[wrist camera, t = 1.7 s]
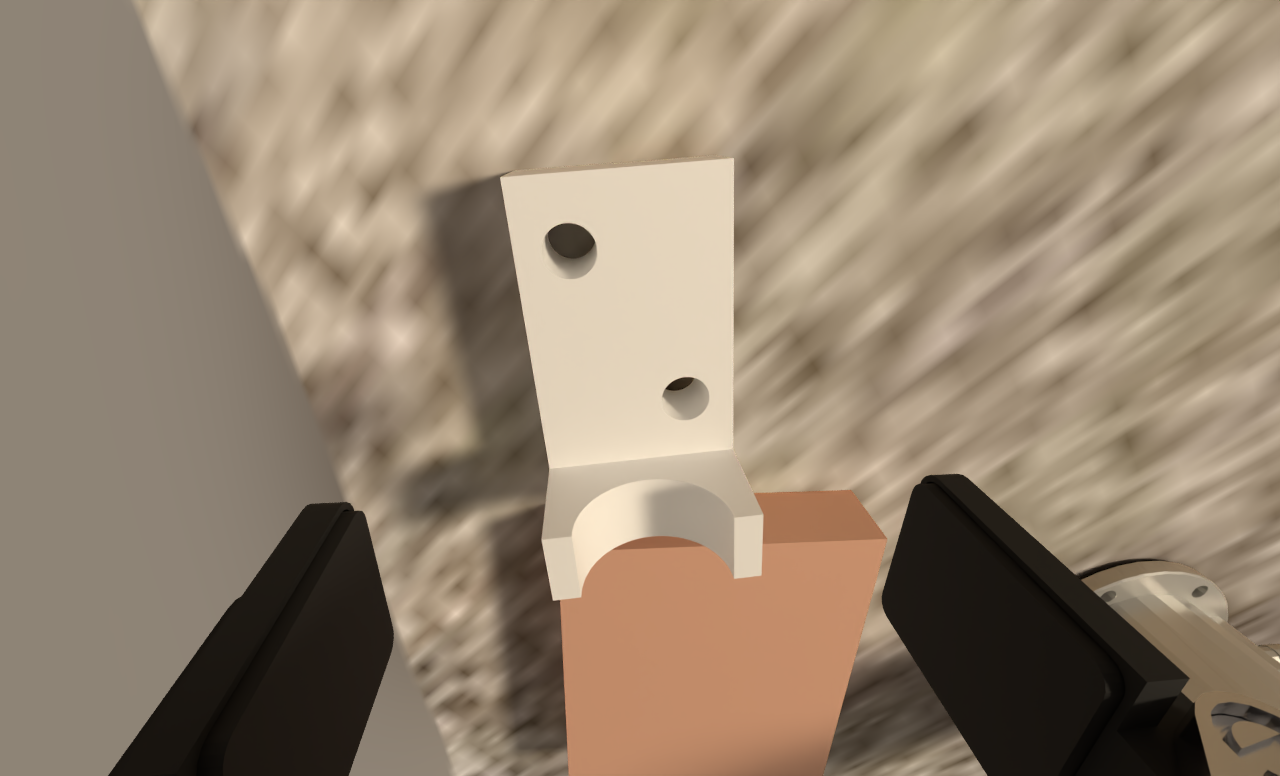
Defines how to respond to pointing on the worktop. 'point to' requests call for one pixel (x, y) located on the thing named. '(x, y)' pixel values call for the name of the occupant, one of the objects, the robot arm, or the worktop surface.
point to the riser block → (720, 647)
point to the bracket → (634, 359)
